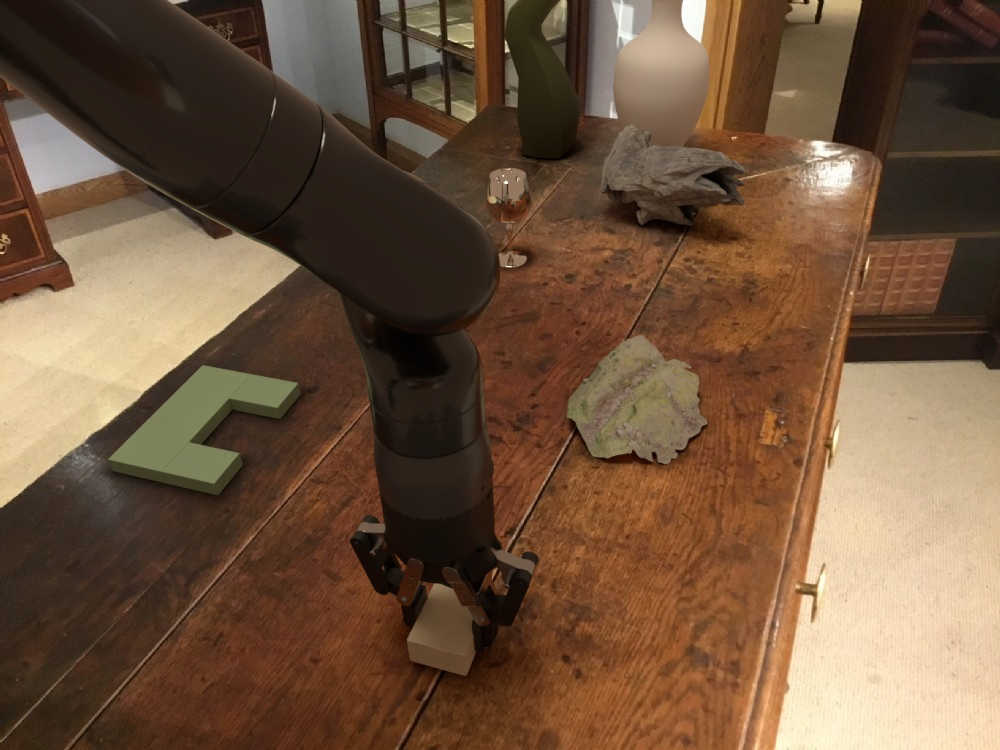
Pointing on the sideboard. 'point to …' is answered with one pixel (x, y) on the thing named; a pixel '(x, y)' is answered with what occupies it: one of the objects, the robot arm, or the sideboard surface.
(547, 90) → the tentacle
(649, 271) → the sideboard surface
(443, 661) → the cream pad
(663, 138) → the vase
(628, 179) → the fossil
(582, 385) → the mossy green rock
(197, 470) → the green c-shaped block
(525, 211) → the wineglass
